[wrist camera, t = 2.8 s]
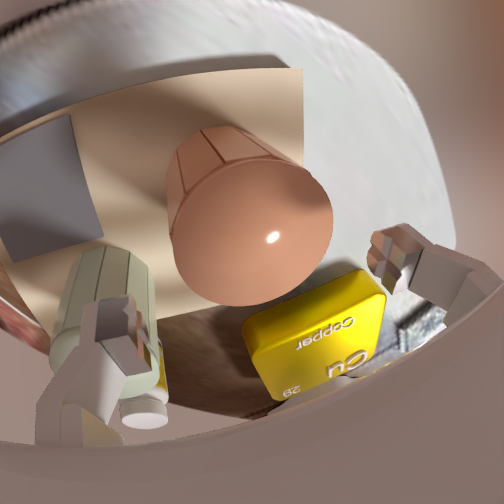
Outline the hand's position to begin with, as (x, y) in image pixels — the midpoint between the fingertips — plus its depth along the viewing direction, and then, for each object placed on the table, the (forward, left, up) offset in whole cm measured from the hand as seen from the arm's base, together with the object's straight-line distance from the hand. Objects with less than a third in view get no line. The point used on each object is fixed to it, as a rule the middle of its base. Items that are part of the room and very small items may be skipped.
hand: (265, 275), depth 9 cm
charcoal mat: (+2, +11, -10) cm, 15 cm away
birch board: (-2, +5, -11) cm, 13 cm away
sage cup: (-6, +8, -10) cm, 14 cm away
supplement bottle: (-15, +9, -11) cm, 21 cm away
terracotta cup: (0, -1, -10) cm, 10 cm away
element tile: (-21, -9, -12) cm, 26 cm away
